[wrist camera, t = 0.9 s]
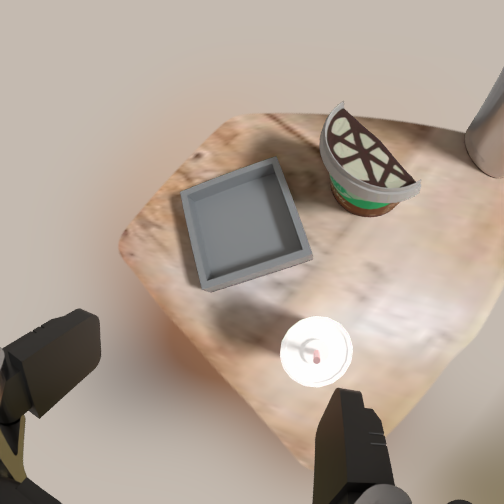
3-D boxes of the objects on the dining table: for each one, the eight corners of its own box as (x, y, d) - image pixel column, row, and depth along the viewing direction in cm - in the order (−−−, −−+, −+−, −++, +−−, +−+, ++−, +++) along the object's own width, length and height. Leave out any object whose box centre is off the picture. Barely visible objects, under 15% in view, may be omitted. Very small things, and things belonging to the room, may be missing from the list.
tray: (279, 167, 37) (276, 156, 35) (312, 259, 34) (312, 254, 31) (189, 200, 39) (180, 192, 36) (211, 292, 36) (202, 289, 33)
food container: (300, 171, 37) (293, 125, 27) (337, 147, 37) (339, 98, 27) (362, 248, 33) (378, 221, 24) (399, 219, 33) (425, 184, 23)
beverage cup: (313, 305, 33) (312, 296, 20) (354, 339, 31) (380, 353, 18) (277, 346, 33) (252, 364, 19) (318, 380, 31) (319, 420, 18)
